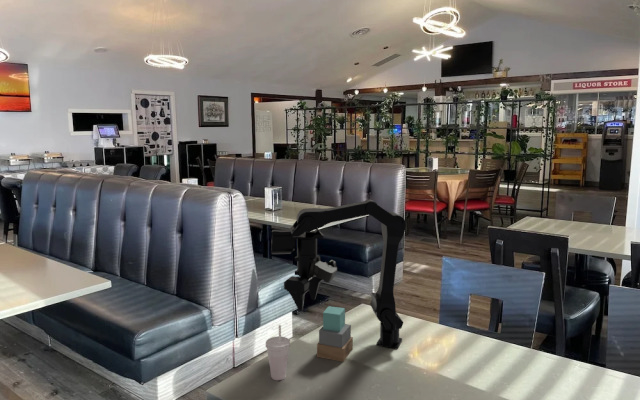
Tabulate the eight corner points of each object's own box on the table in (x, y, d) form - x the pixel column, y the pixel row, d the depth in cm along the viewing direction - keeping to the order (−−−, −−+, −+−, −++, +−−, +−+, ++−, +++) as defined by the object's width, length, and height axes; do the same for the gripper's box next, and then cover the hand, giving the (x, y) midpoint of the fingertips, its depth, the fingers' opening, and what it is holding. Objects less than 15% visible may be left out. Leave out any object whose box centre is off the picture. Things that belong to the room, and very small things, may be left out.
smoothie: (286, 384, 117) (286, 331, 115) (262, 381, 118) (261, 329, 116) (293, 371, 123) (292, 321, 121) (270, 369, 124) (269, 319, 122)
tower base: (327, 345, 139) (327, 332, 138) (352, 350, 136) (352, 337, 135) (317, 357, 131) (317, 344, 131) (343, 362, 128) (343, 349, 128)
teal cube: (328, 322, 136) (328, 306, 135) (344, 324, 134) (345, 308, 133) (323, 329, 131) (323, 312, 130) (339, 331, 130) (340, 314, 129)
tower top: (328, 333, 137) (328, 321, 137) (350, 337, 135) (350, 324, 134) (319, 343, 131) (318, 330, 130) (342, 348, 128) (342, 334, 128)
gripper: (320, 264, 121) (320, 321, 123) (344, 248, 138) (343, 298, 141) (282, 260, 125) (283, 314, 128) (310, 244, 142) (310, 293, 145)
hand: (307, 304), depth 135 cm, fingers open, 9 cm apart
